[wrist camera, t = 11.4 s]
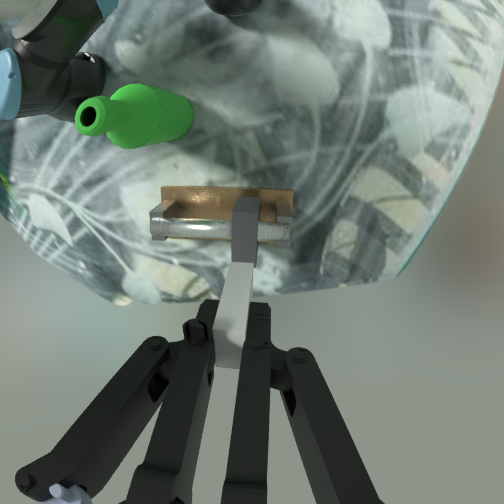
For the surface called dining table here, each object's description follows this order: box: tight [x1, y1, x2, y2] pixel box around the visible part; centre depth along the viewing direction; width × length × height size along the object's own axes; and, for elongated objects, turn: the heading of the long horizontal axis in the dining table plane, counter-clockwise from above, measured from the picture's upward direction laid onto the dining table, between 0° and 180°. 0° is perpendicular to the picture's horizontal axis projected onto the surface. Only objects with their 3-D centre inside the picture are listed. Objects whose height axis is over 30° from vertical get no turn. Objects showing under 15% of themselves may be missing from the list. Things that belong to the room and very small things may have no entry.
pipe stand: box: [149, 186, 294, 247], centre depth 46 cm, size 24×10×10 cm, turn 88°
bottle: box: [75, 83, 193, 149], centre depth 32 cm, size 9×9×25 cm
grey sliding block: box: [232, 197, 260, 268], centre depth 43 cm, size 4×8×8 cm, turn 178°
